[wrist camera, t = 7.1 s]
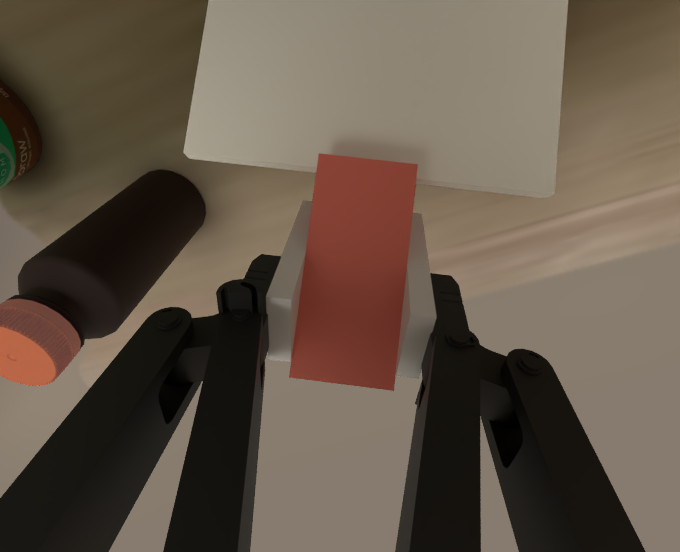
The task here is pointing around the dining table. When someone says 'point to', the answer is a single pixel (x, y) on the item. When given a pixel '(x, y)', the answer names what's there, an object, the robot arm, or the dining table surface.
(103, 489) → the robot arm
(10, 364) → the bottle
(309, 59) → the lid
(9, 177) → the food container
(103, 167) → the dining table surface
